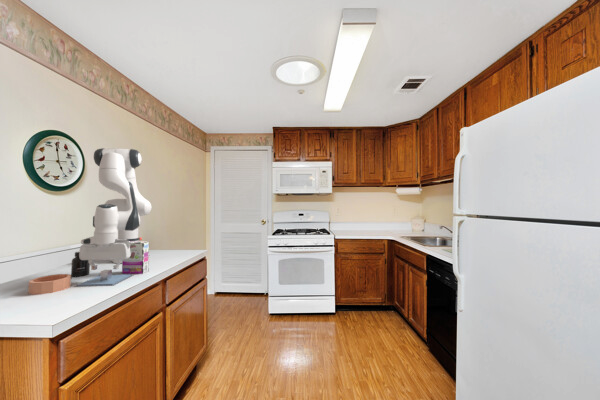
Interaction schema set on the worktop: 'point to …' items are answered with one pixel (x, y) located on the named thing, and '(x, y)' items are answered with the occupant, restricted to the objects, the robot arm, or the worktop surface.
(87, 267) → the supplement bottle
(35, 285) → the bowl
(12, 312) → the worktop surface
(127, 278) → the mat
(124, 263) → the candy bar box
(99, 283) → the cover sheet
